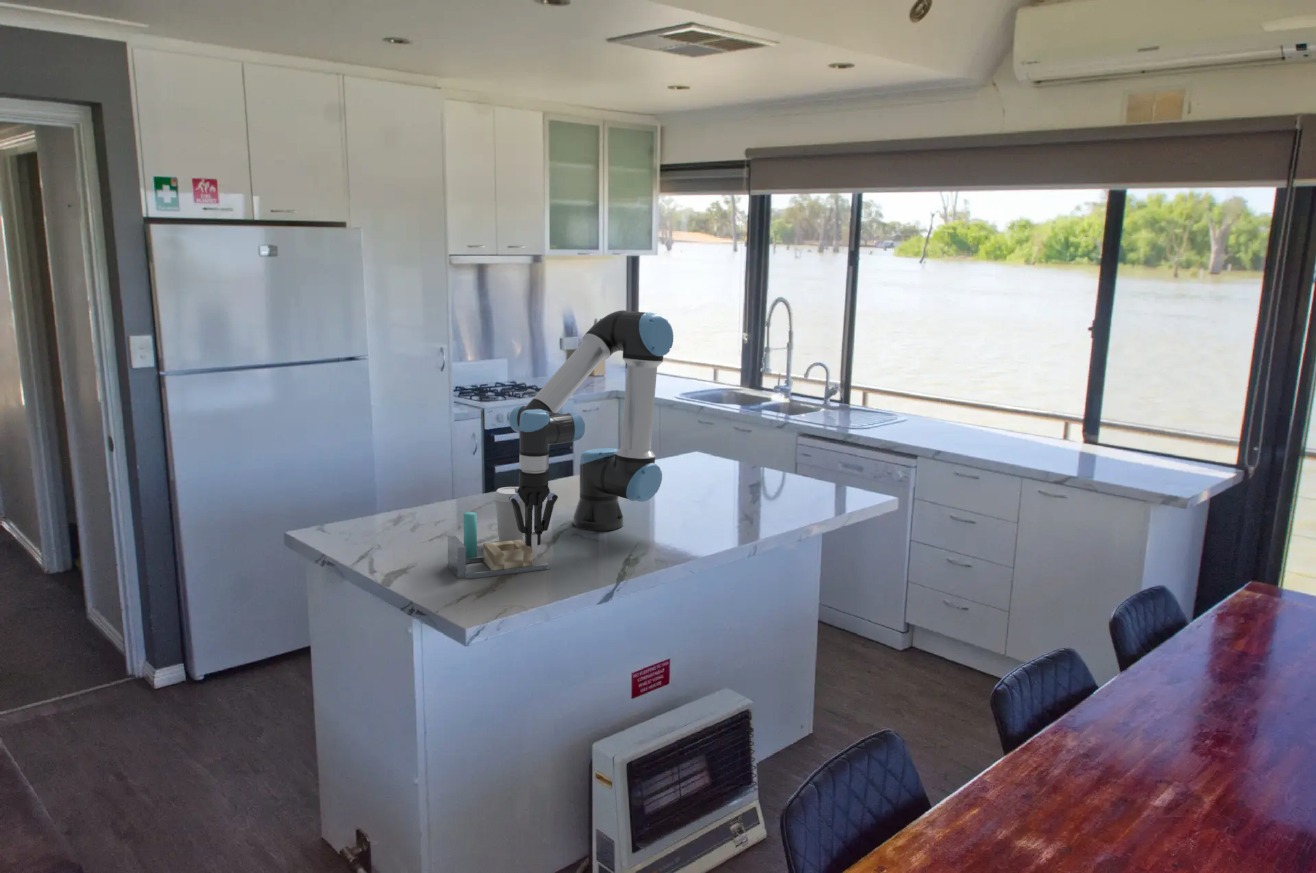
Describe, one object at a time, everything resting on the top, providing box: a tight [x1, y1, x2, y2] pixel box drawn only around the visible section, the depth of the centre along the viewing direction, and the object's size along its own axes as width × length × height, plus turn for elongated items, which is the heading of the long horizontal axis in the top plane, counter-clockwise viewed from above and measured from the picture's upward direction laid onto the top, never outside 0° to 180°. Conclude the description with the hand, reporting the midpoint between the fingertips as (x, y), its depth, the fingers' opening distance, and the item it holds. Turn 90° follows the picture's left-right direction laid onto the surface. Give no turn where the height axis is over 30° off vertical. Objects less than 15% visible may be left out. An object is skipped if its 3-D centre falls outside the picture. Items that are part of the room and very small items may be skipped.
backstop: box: [447, 535, 549, 580], centre depth 239 cm, size 23×12×8 cm, turn 116°
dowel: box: [463, 511, 478, 558], centre depth 246 cm, size 3×3×12 cm
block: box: [483, 540, 534, 571], centre depth 241 cm, size 10×10×5 cm
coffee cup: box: [493, 486, 525, 542], centre depth 260 cm, size 10×10×15 cm
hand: (532, 557), depth 244 cm, fingers closed
